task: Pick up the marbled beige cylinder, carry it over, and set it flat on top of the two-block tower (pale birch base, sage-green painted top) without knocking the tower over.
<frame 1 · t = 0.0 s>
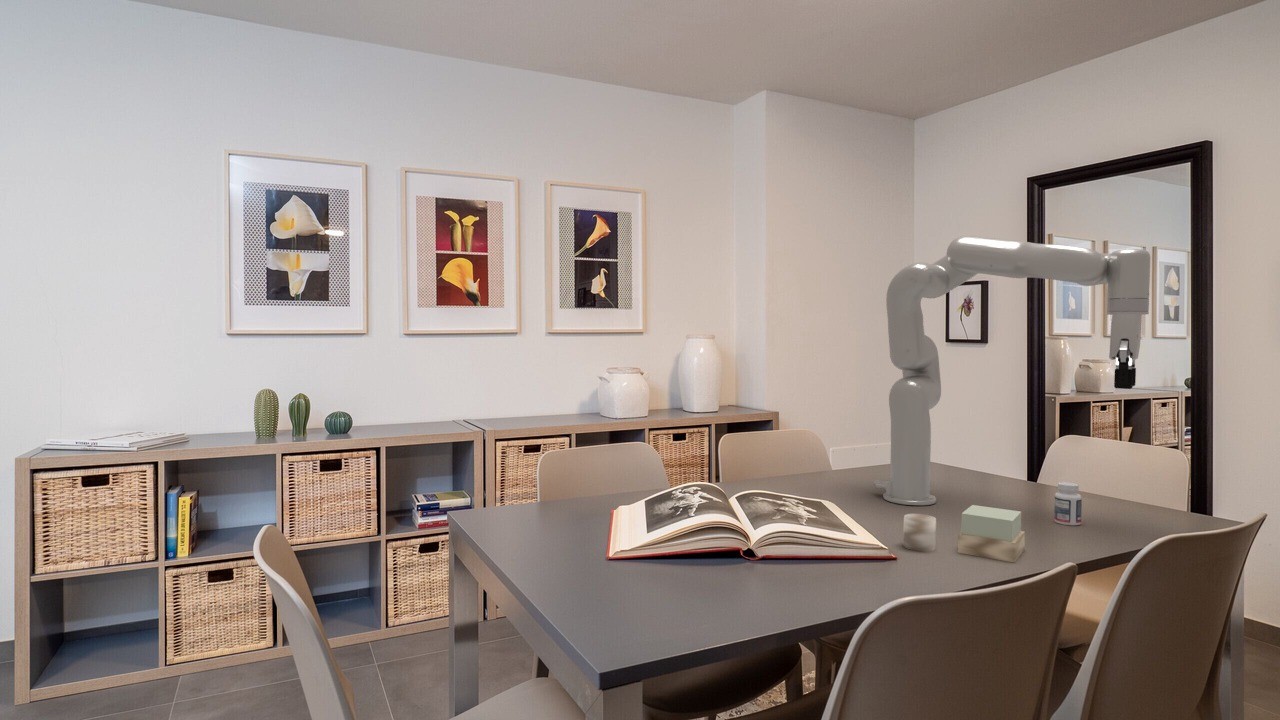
hand: (1124, 387, 158), 31 cm above the table, fingers open, 9 cm apart
tower base block: (991, 553, 143), on the table, touching tower top block
tower top block: (991, 532, 143), point 4 cm above the table, touching tower base block
pill bottle: (1067, 523, 165), on the table
marbled beige cylinder: (919, 547, 146), on the table
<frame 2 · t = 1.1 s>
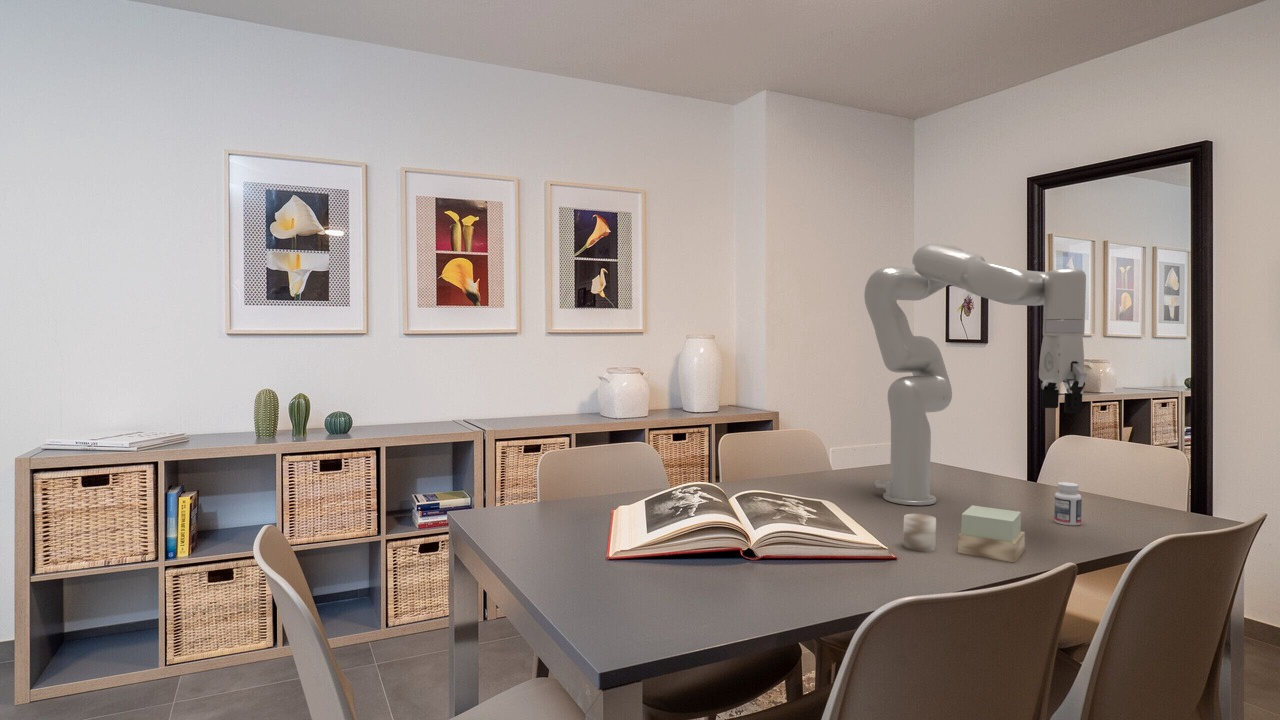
hand: (1061, 410, 153), 27 cm above the table, fingers open, 9 cm apart
nothing on the table moved.
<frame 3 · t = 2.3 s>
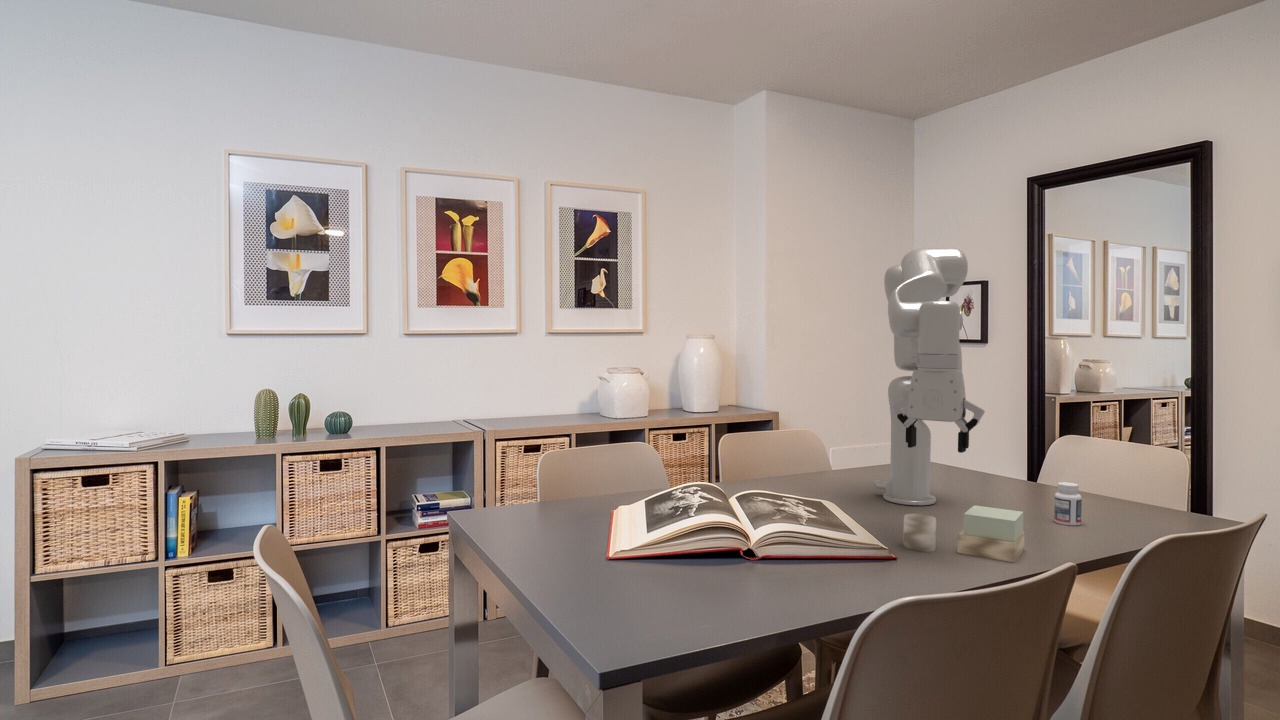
hand: (936, 449, 146), 19 cm above the table, fingers open, 9 cm apart
nothing on the table moved.
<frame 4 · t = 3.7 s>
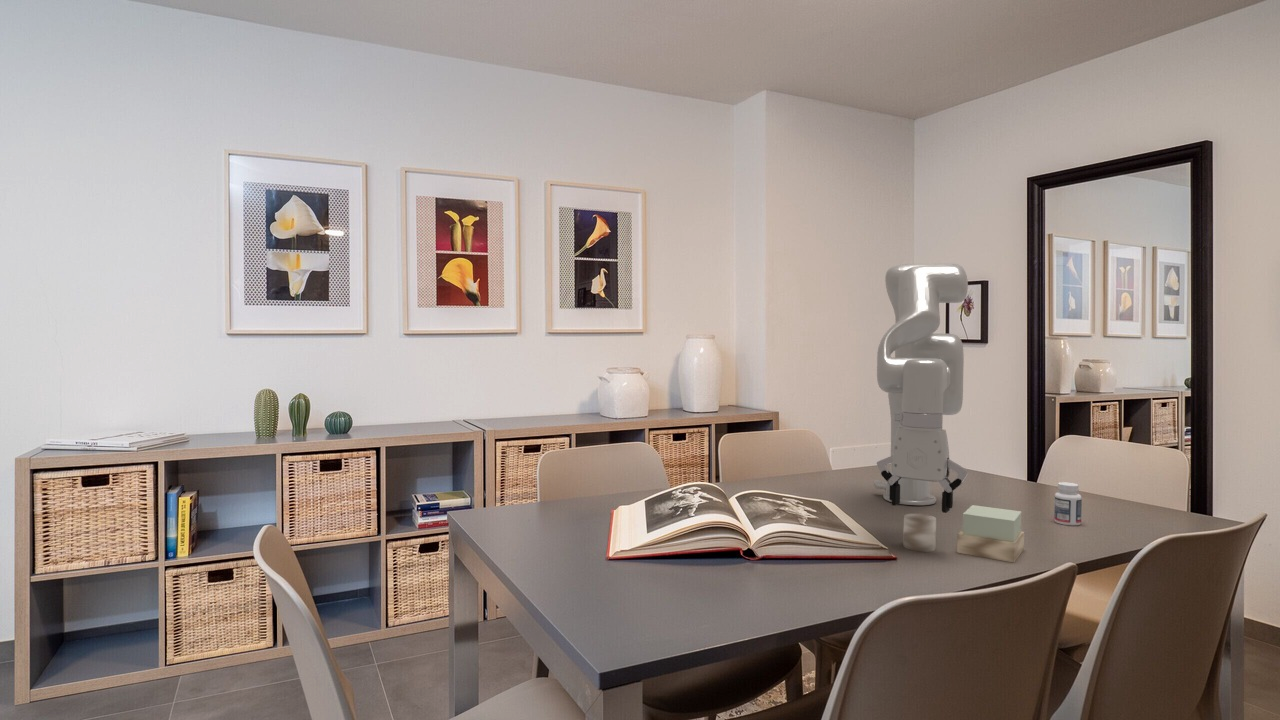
hand: (920, 507, 145), 8 cm above the table, fingers open, 9 cm apart
tower base block: (990, 553, 143), on the table
tower top block: (992, 532, 143), point 4 cm above the table
everything else where it was.
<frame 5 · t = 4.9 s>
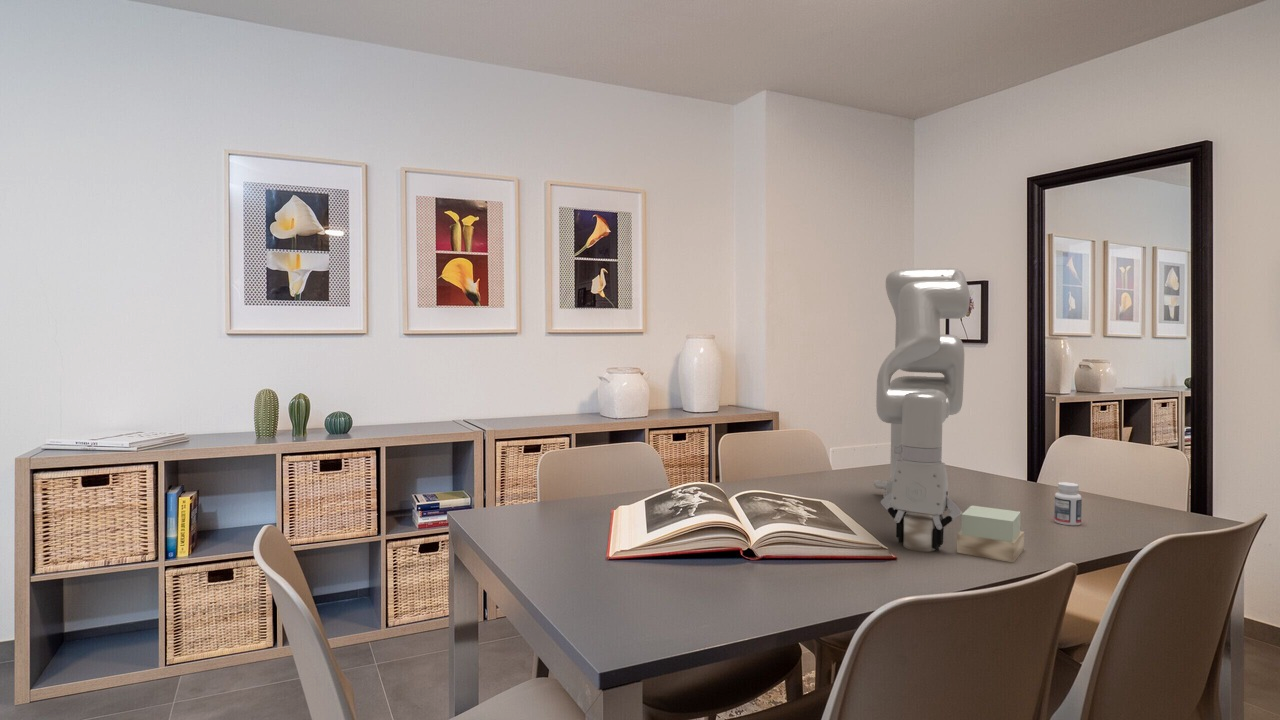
hand: (919, 543, 146), 1 cm above the table, fingers closed on marbled beige cylinder, 6 cm apart
tower base block: (990, 553, 143), on the table, touching tower top block
tower top block: (990, 533, 143), point 4 cm above the table, touching tower base block
marbled beige cylinder: (919, 547, 146), on the table, touching gripper
everything else where it was.
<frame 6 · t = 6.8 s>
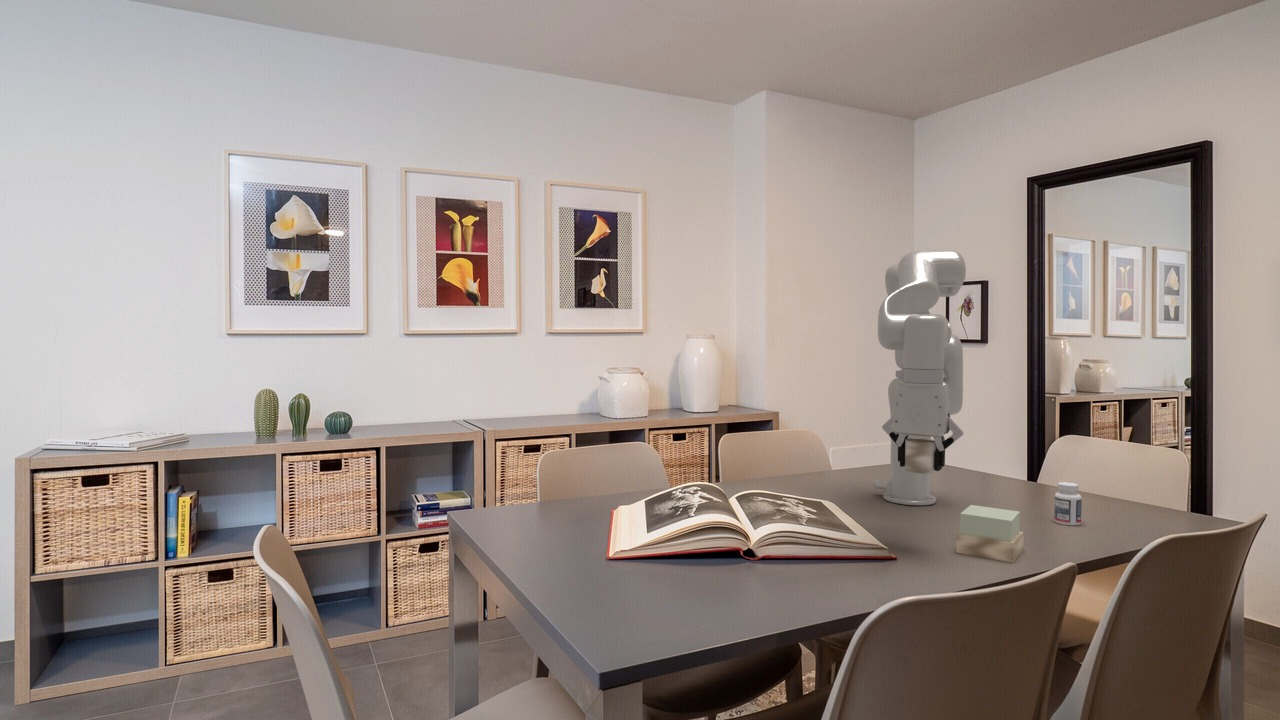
hand: (920, 466, 146), 16 cm above the table, fingers closed on marbled beige cylinder, 6 cm apart
tower base block: (989, 553, 143), on the table
tower top block: (989, 532, 143), point 4 cm above the table
marbled beige cylinder: (920, 470, 146), point 15 cm above the table, touching gripper
everything else where it was.
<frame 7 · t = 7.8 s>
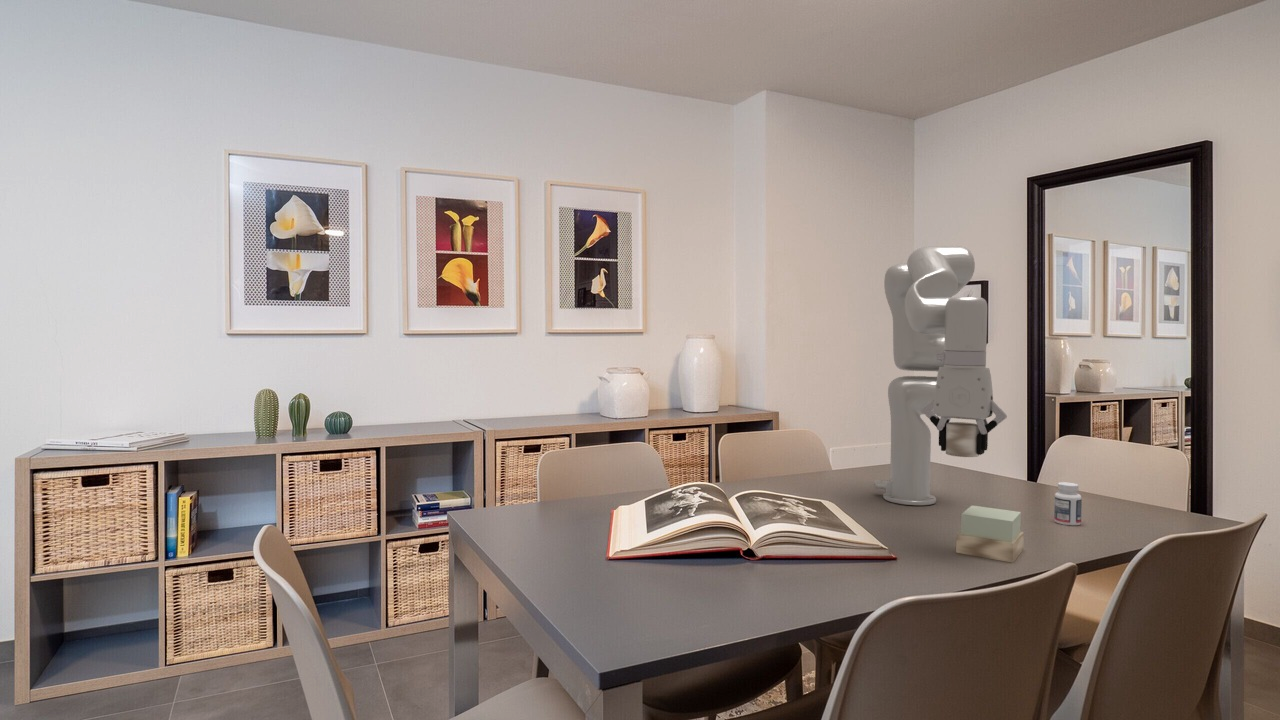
hand: (962, 451, 144), 19 cm above the table, fingers closed on marbled beige cylinder, 6 cm apart
marbled beige cylinder: (962, 454, 144), point 19 cm above the table, touching gripper
everything else where it was.
when the fingers open (9 cm above the table, at t = 10.8 s): marbled beige cylinder stays where it is, resting on tower top block.
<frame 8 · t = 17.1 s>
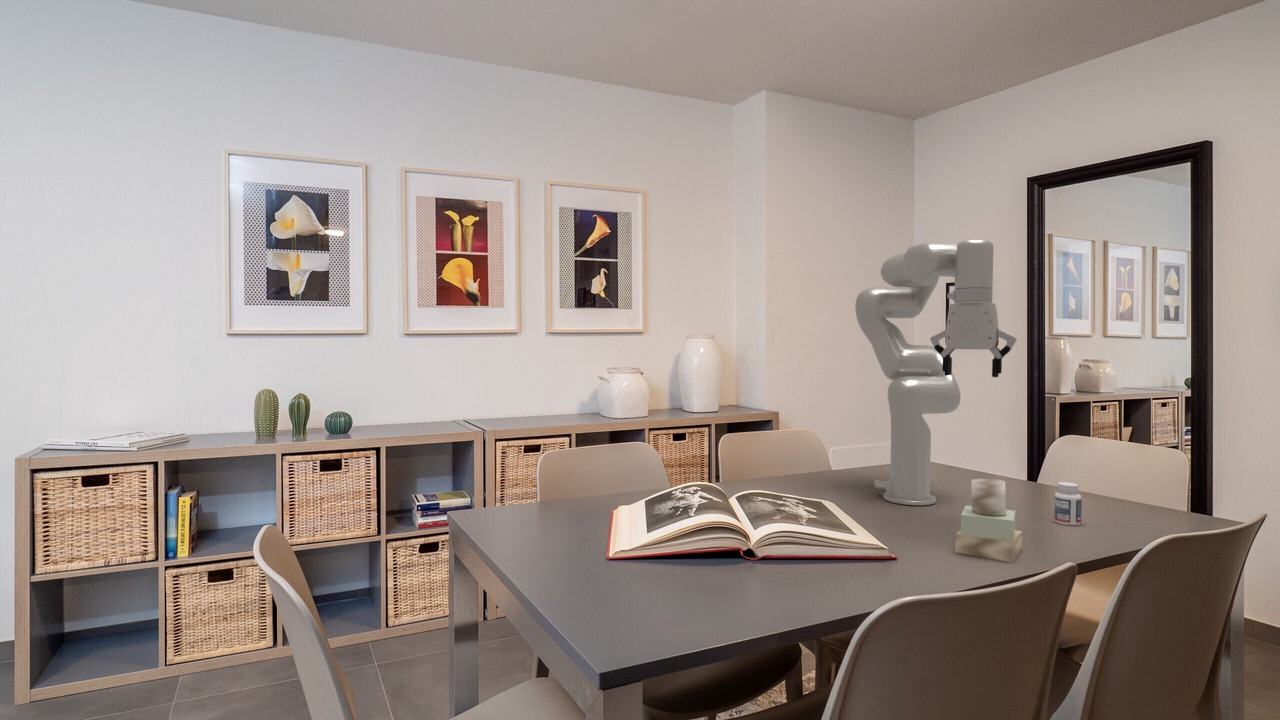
hand: (971, 376, 160), 33 cm above the table, fingers open, 9 cm apart
tower base block: (988, 552, 143), on the table, touching tower top block
tower top block: (988, 532, 143), point 4 cm above the table, touching marbled beige cylinder, tower base block
marbled beige cylinder: (989, 512, 143), point 8 cm above the table, touching tower top block
everything else where it was.
at the end: marbled beige cylinder 0.4 cm off-centre on the tower base block, point 8.0 cm above the tower base block's base; marbled beige cylinder tilted 0°; tower top block 0.4 cm off-centre on the tower base block, point 4.0 cm above the tower base block's base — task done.
